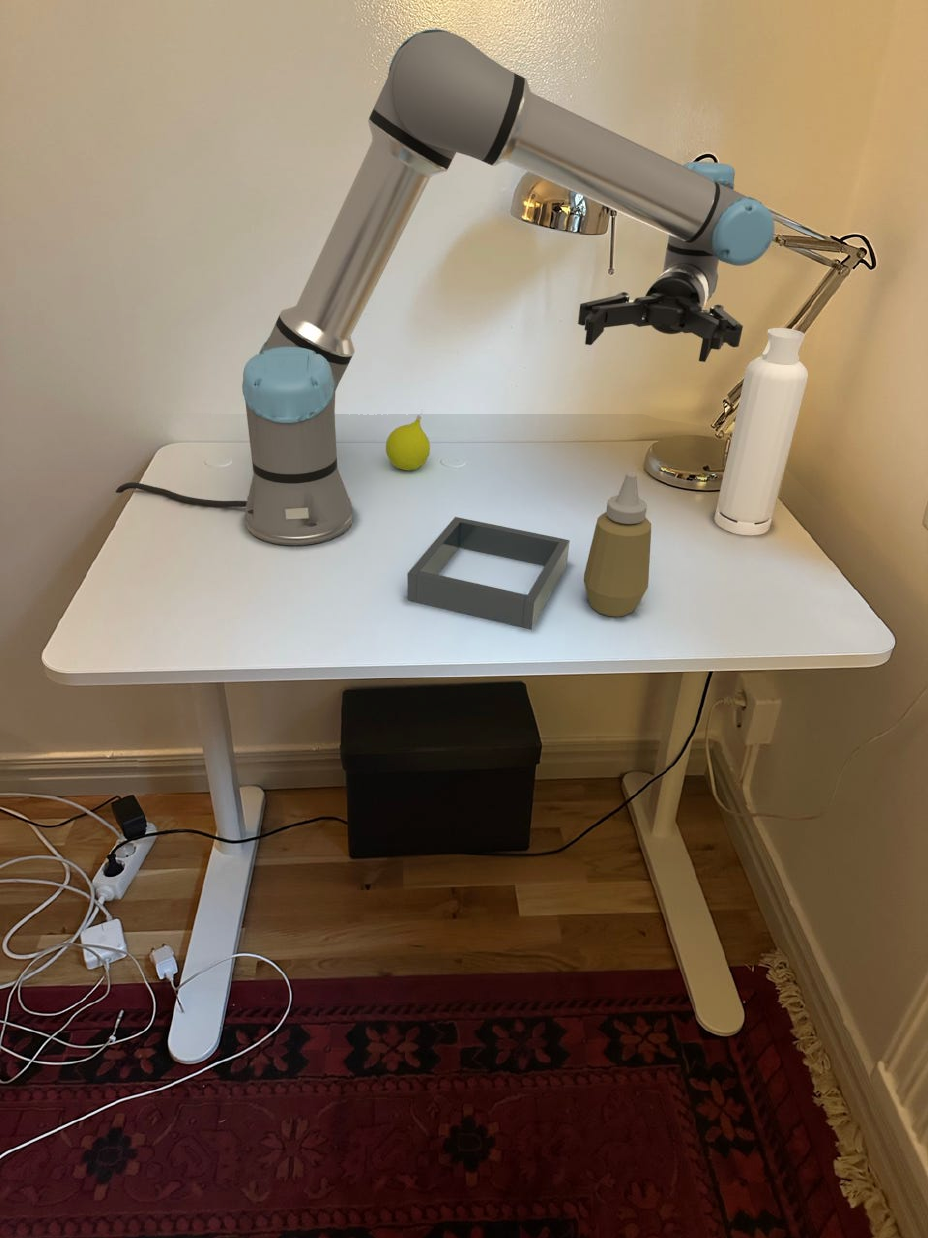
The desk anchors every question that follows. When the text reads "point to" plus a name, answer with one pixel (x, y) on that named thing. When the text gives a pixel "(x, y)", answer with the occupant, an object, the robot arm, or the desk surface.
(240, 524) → the desk surface
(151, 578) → the desk surface
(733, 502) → the bottle
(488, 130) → the robot arm
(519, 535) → the grey open square frame
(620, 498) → the squeeze bottle
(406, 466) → the yellow teardrop-shaped fruit
